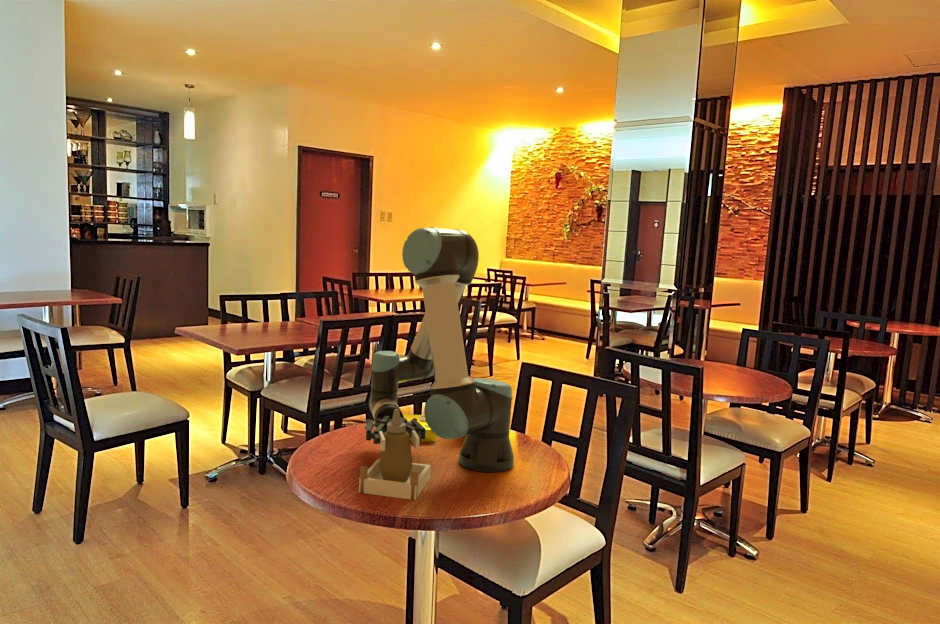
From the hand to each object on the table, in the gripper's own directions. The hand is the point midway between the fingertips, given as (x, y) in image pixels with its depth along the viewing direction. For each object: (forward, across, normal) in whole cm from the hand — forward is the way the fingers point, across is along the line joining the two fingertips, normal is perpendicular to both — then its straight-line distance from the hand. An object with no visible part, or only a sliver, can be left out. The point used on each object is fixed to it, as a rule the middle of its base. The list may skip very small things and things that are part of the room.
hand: (400, 444), depth 153 cm
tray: (-5, 0, -12) cm, 13 cm away
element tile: (-44, -11, -13) cm, 47 cm away
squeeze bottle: (-5, 0, -11) cm, 12 cm away
